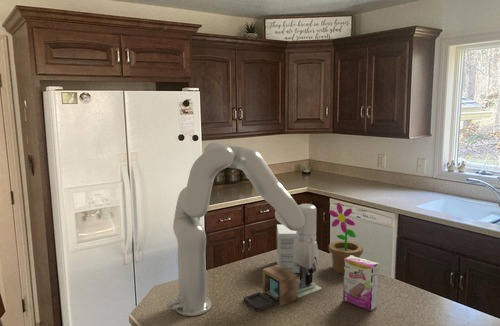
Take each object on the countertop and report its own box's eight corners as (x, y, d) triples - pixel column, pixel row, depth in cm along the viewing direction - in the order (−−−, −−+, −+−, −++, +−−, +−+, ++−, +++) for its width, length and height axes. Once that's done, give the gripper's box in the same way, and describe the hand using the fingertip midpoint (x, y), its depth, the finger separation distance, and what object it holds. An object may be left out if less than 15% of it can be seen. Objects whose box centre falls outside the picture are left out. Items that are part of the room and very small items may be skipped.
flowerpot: (321, 269, 172) (322, 202, 168) (339, 259, 182) (340, 195, 178) (351, 279, 162) (353, 207, 158) (368, 268, 173) (370, 201, 168)
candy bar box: (342, 301, 145) (343, 258, 142) (349, 296, 148) (350, 254, 146) (371, 312, 137) (372, 266, 135) (377, 306, 141) (379, 262, 138)
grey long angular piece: (276, 300, 145) (276, 279, 144) (267, 293, 150) (267, 273, 149) (315, 286, 155) (316, 266, 154) (305, 280, 160) (305, 261, 159)
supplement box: (276, 261, 182) (276, 224, 180) (305, 260, 182) (305, 223, 179) (278, 273, 169) (278, 233, 166) (309, 273, 169) (309, 233, 166)
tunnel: (281, 305, 143) (281, 279, 141) (263, 292, 152) (262, 268, 151) (296, 299, 147) (296, 274, 145) (277, 287, 156) (277, 264, 154)
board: (298, 297, 148) (298, 296, 148) (281, 287, 156) (281, 286, 156) (322, 289, 154) (322, 288, 154) (305, 279, 163) (305, 278, 163)
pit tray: (257, 311, 139) (257, 307, 138) (243, 301, 146) (243, 297, 146) (273, 305, 142) (273, 301, 142) (259, 295, 150) (259, 292, 150)
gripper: (285, 232, 158) (285, 276, 161) (313, 244, 144) (312, 292, 147) (300, 229, 162) (299, 272, 165) (328, 240, 149) (327, 287, 151)
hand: (305, 281), depth 156 cm, fingers closed on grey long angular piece, 2 cm apart
